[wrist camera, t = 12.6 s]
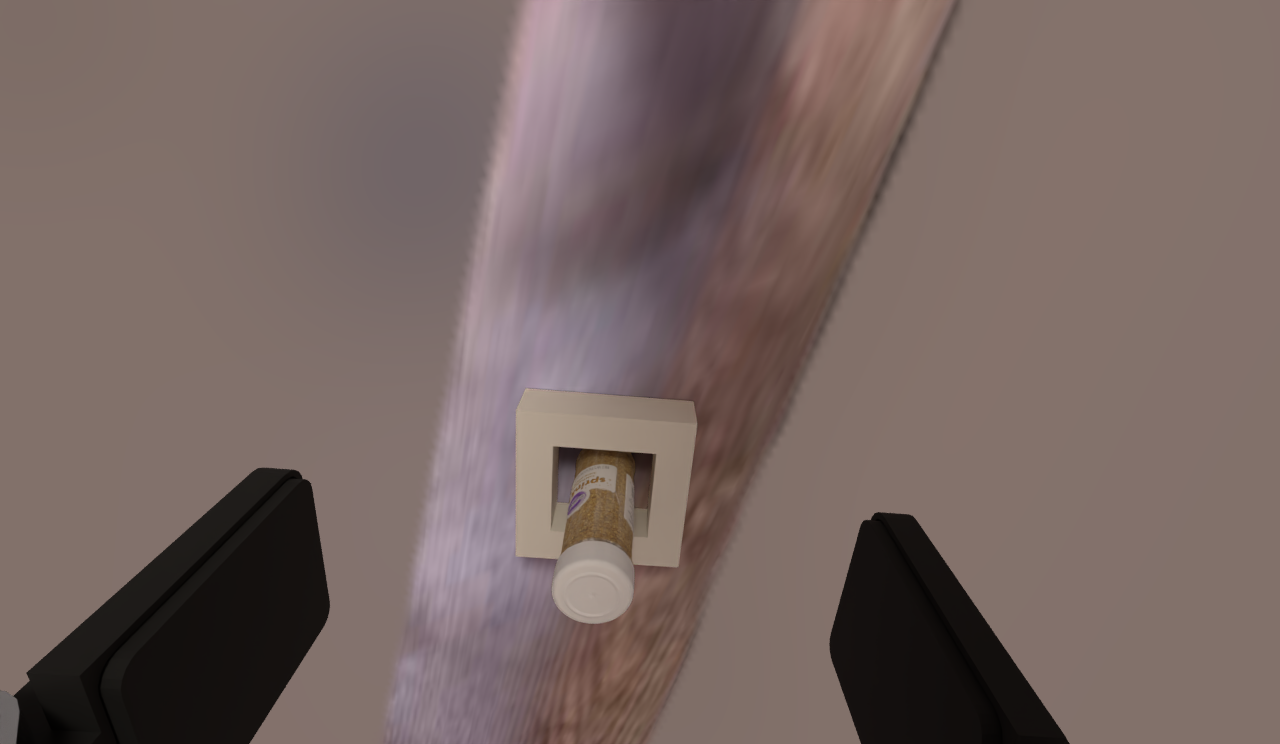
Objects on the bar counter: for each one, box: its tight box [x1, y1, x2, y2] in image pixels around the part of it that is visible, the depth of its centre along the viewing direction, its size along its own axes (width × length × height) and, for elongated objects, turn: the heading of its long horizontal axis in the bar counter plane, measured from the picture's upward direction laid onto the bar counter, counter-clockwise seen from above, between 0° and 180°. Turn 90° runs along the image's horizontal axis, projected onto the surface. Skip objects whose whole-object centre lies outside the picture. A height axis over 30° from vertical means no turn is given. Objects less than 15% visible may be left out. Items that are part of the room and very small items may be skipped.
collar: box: [516, 388, 698, 568], centre depth 43 cm, size 12×12×4 cm
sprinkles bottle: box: [552, 449, 635, 624], centre depth 38 cm, size 5×5×14 cm
